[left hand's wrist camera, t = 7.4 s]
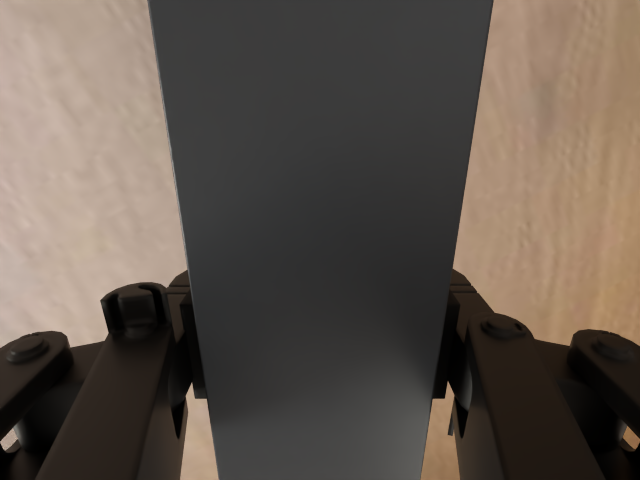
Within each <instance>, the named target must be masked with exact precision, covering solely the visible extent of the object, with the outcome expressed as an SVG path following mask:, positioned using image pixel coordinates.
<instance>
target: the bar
mask: <svg viewBox="0 0 640 480" xmlns="http://www.w3.org/2000/svg"><path fill="white" fill-rule="evenodd" d="M147 1H148V7H149V14H150V21H151V27H152V34H153V41H154V47H155V54H156V61H157V68H158V74H159V81H160V88H161V94H162V101H163V108H164V115H165V121H166V128H167V135H168V141H169V148H170V155H171V161H172V168H173V175H174V182H175V188H176V195H177V202H178V208H179V215H180V222H181V229H182V235H183V242H184V249H185V255H186V262H187V269H188V276H189V282H190V289H191V296H192V302H193V309H194V316H195V322H196V329H197V336H198V343H199V349H200V356H201V363H202V369H203V376H204V383H205V390H206V396H207V403H208V410H209V416H210V423H211V430H212V436H213V443H214V450H215V457H216V463H217V470H218V477H219V480H420V478H421V471H422V465H423V458H424V452H425V445H426V439H427V432H428V425H429V419H430V412H431V406H432V399H433V393H434V386H435V380H436V373H437V367H438V360H439V354H440V347H441V340H442V334H443V327H444V321H445V314H446V308H447V301H448V295H449V288H450V282H451V275H452V269H453V262H454V255H455V249H456V242H457V236H458V229H459V223H460V216H461V210H462V203H463V197H464V190H465V184H466V177H467V170H468V164H469V157H470V151H471V144H472V138H473V131H474V125H475V118H476V112H477V105H478V99H479V92H480V85H481V79H482V72H483V66H484V59H485V53H486V46H487V40H488V33H489V27H490V20H491V14H492V7H493V0H147Z"/></svg>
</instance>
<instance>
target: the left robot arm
mask: <svg viewBox="0 0 640 480" xmlns="http://www.w3.org/2000/svg"><path fill="white" fill-rule="evenodd" d="M100 301H101V305H102V309H103V313H104V317H105V320H106V324H107V328H108V332H109V334H108V336H107V338H106V340H105V341H102V342H98V343H93V344H87V345H82V346H77V347H72V348H70V345H69V342H68V338H67V336H66V335H64V334H63V333H62V332H56V331H46V332H36V333H32V334H31V335H30V334H28V335H25V336H22V337H20V338H19V339H17V340H14V341H12V342H10V343H8V344H6V345H5V346H3V347H2V348H0V441H1V440H2V439H3V438H4V437H5V436H6V435H7V433H8V432H9V431H10V430H11V429H12V428H14V431H15V433H16V435H17V438H18V439H17V440H16V442H15V443H14V444H13V445H12V446H11V447H10V448H8V449H7V450H6V451H5V450H3V448H2V446H1V444H0V480H180V474H181V466H182V457H183V449H184V441H185V433H186V425H187V417H188V408H187V401H186V394H187V392H188V389H189V387H190V385H191V383H192V384H193V390H194V396H195V399H207V396H206V390H205V383H204V376H203V369H202V363H201V356H200V349H199V343H198V336H197V329H196V322H195V316H194V309H193V302H192V296H191V289H190V282H189V276H188V270H186V271H185V272H183V273H181V274H180V275H178V276H176V277H175V278H174V280H173V281H172V282H171V283H170V285H169V287H167V288H166V287H164V286H163V285H161V284H158V283H153V282H143V283H136V284H130V285H126V286H123V287H121V288H118V289H115V290H114V291H112V292H110V293H108V294H106V295H105V296H104V297H103V298H102V299H101V300H100ZM447 382H449V384H450V386H451V388H452V390H453V393H454V395H455V396H454V401H453V407H452V413H451V418H450V424H449V430H448V435H451V436H453V431H454V432H455V440H456V448H457V457H458V465H459V473H460V480H640V443H639V445H638V447H637V448H636V450H635V449H633V448H632V447H631V446H630V445H629V444H628V443H627V442H626V441H625V440H624V439H623V435H624V432H625V430H626V428H627V426H628V427H629V428H630V429H631V430H632V431H633V432H634V433H635V434H636V435H637V436H638V437H639V438H640V346H638V345H637V344H635V343H634V342H632V341H630V340H628V339H626V338H623V337H621V336H620V335H618V334H615V333H612V332H610V333H609V332H608V331H603V330H591V329H587V330H579V331H578V332H576V333H575V334H573V337H572V341H571V344H570V346H566V345H561V344H556V343H551V342H545V341H540V340H536V339H534V337H533V335H532V333H531V332H530V330H529V329H528V328H527V327H526V326H525V325H524V324H522V323H521V322H519V321H518V320H516V319H514V318H511V317H509V316H506V315H502V314H498V313H494V311H493V310H492V309H491V308H490V307H489V305H488V304H487V303H486V302H485V300H484V299H483V298H482V297H481V296H480V294H479V293H477V291H476V290H475V288H474V287H473V286H471V283H470V282H469V281H468V280H467V279H466V277H465V276H464V275H462V274H461V273H459V272H457V271H456V270H454V269H452V275H451V282H450V288H449V295H448V301H447V308H446V314H445V321H444V327H443V334H442V340H441V347H440V354H439V360H438V367H437V373H436V380H435V386H434V393H433V399H445V394H446V388H447Z"/></svg>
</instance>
